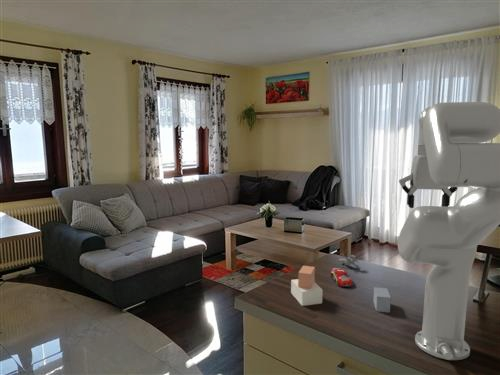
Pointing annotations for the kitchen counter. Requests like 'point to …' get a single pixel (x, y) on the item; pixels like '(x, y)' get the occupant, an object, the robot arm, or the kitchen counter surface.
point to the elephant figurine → (348, 260)
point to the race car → (341, 277)
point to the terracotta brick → (306, 277)
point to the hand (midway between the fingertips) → (427, 207)
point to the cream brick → (306, 293)
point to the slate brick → (381, 299)
